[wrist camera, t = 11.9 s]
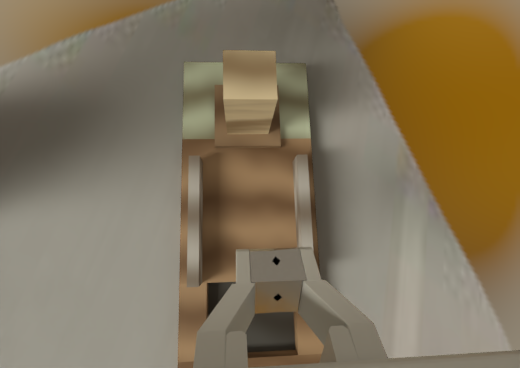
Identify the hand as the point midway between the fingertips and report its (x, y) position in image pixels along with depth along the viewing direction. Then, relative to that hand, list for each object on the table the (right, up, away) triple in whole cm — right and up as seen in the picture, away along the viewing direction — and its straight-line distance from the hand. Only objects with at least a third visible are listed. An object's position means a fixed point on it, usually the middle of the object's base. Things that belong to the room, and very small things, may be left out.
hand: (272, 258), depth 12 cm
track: (-2, 0, +26) cm, 26 cm away
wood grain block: (-2, +11, +26) cm, 28 cm away
